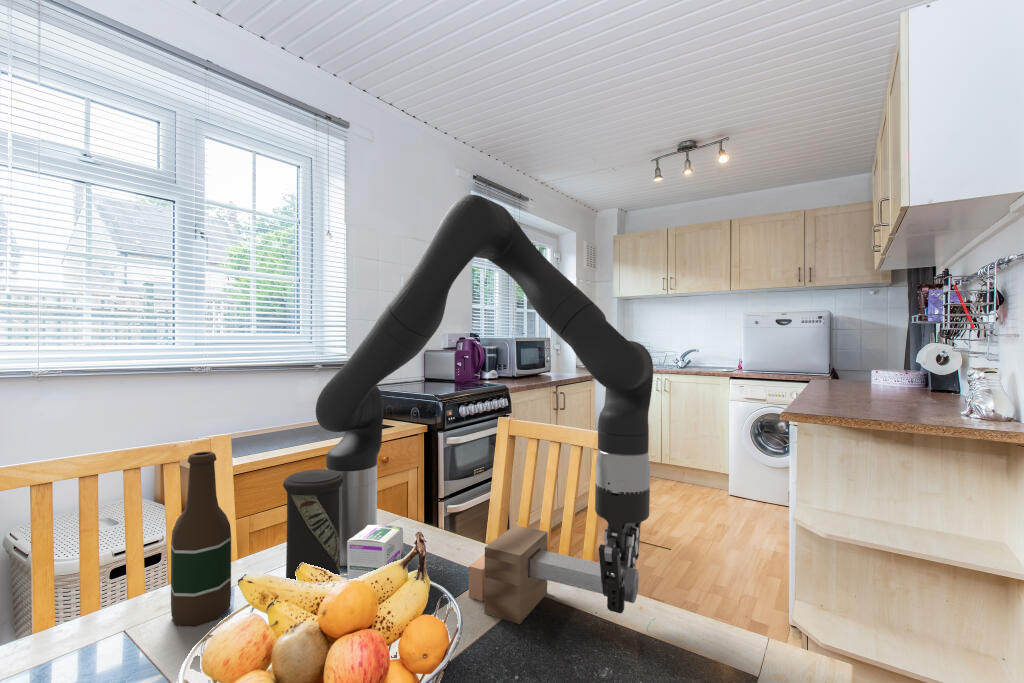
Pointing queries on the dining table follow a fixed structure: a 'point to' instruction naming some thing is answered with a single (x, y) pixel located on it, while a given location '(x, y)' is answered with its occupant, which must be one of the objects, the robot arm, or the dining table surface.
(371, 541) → the syrup box
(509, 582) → the bearing block
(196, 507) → the beer bottle
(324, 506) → the container
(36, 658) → the dining table surface
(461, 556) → the dining table surface
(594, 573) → the shaft
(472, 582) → the block
